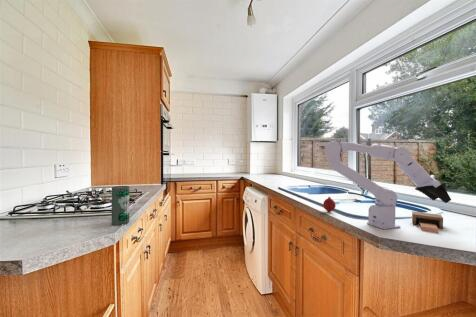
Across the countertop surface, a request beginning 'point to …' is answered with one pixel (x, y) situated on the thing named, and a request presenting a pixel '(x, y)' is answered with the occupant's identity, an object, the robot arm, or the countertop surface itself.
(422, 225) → the tile
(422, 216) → the shelf
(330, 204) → the onion
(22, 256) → the countertop surface
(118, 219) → the can
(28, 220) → the countertop surface
